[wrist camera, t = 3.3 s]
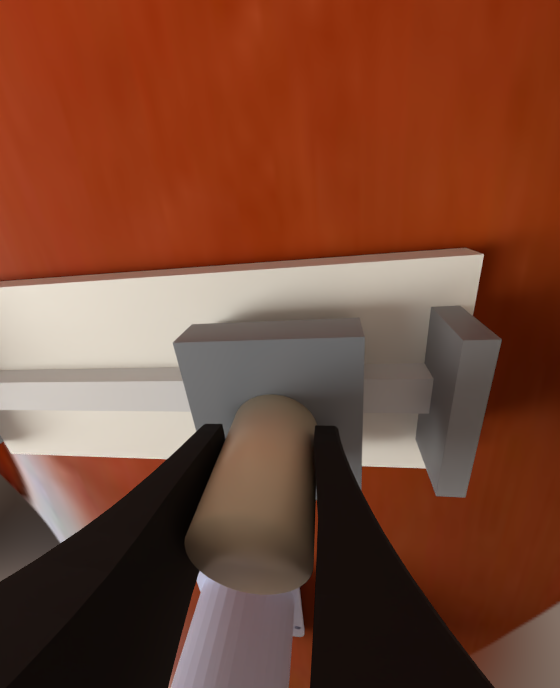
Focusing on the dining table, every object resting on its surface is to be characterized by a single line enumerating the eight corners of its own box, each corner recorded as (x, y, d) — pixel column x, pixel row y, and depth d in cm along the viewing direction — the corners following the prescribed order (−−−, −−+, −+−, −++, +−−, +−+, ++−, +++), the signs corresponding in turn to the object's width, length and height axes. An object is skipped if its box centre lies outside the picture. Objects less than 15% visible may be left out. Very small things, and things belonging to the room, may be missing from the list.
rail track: (435, 446, 16) (471, 530, 12) (32, 436, 20) (-42, 497, 16) (466, 247, 12) (538, 274, 8) (-52, 284, 16) (-182, 315, 12)
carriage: (354, 448, 14) (377, 649, 8) (231, 445, 15) (164, 621, 9) (356, 306, 11) (394, 443, 5) (203, 313, 12) (74, 436, 6)
